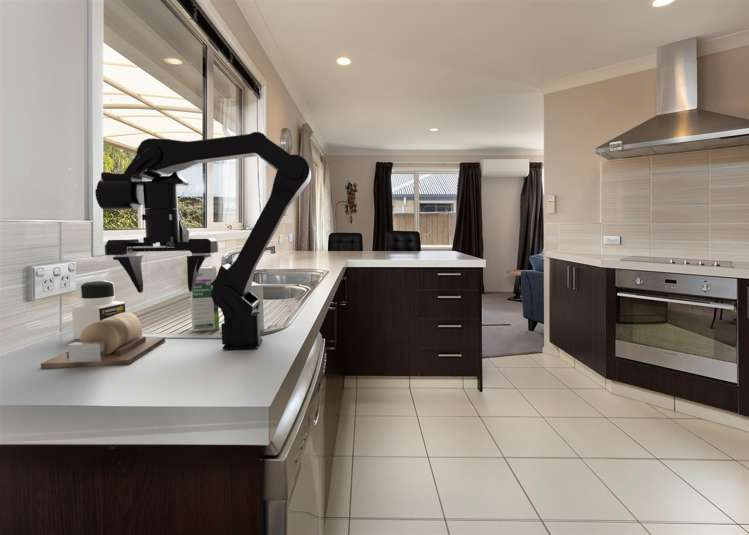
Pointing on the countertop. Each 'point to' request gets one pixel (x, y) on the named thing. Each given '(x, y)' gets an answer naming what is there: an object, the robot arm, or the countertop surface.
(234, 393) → the countertop surface
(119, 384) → the countertop surface
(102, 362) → the holder stand
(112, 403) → the countertop surface
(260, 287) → the small box
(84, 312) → the medicine bottle
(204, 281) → the syrup box
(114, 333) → the paper roll
